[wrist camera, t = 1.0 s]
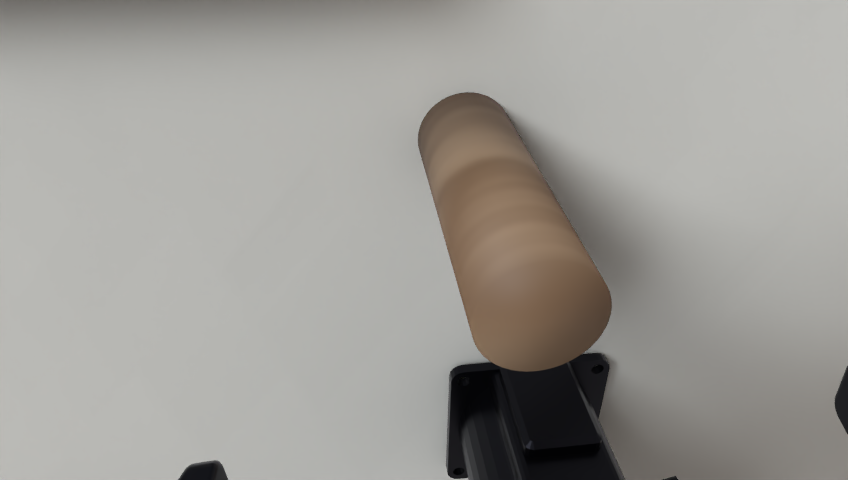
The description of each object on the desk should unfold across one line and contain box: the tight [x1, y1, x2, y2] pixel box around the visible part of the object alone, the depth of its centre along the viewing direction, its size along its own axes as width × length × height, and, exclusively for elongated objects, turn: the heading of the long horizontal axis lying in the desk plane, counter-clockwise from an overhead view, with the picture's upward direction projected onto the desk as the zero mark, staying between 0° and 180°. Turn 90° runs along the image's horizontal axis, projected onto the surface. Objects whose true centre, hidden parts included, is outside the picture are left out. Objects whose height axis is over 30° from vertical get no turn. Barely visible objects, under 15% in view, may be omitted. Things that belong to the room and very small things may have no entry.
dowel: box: [418, 93, 612, 372], centre depth 18 cm, size 3×3×9 cm
